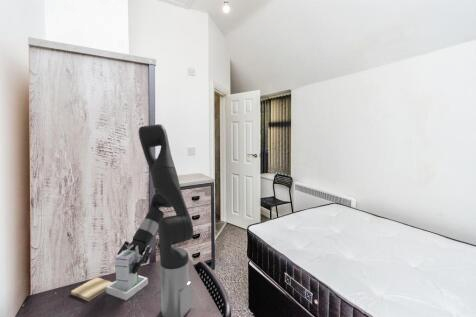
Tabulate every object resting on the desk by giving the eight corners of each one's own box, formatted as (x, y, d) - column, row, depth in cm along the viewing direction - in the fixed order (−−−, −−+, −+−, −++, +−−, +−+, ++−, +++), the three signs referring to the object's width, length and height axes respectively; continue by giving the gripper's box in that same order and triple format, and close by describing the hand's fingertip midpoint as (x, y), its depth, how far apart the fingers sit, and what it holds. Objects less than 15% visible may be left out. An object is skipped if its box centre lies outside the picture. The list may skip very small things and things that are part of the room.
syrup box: (129, 294, 87) (128, 257, 86) (116, 292, 88) (114, 256, 87) (138, 284, 92) (137, 250, 91) (126, 283, 93) (125, 249, 92)
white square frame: (148, 283, 93) (147, 278, 93) (126, 300, 83) (126, 294, 83) (129, 277, 97) (128, 272, 97) (106, 293, 87) (106, 286, 87)
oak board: (113, 285, 92) (113, 282, 92) (88, 301, 83) (88, 298, 82) (96, 279, 96) (96, 276, 96) (71, 294, 86) (71, 291, 86)
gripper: (129, 225, 98) (105, 263, 88) (154, 230, 93) (132, 272, 83) (139, 232, 103) (117, 269, 94) (163, 238, 98) (143, 277, 88)
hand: (124, 270), depth 88 cm, fingers open, 8 cm apart
